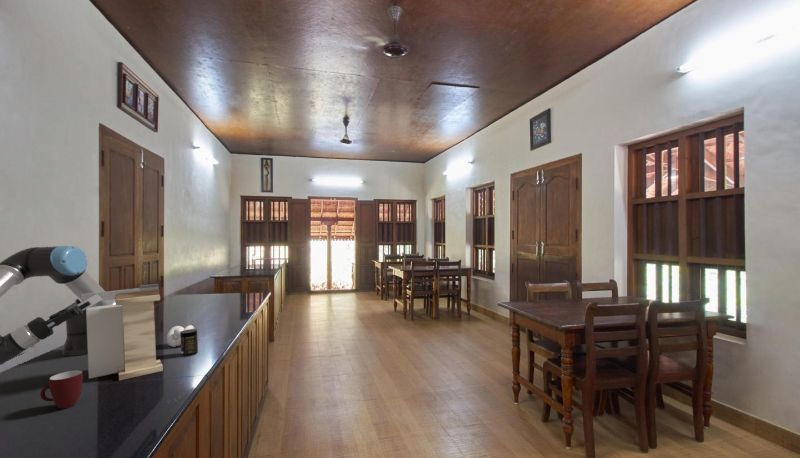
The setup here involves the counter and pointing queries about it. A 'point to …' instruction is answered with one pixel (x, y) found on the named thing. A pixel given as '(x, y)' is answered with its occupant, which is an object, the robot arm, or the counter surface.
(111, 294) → the steel bar
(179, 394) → the counter surface
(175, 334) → the white twisted tube knot
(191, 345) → the supplement container
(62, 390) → the mug
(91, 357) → the block
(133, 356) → the stand
